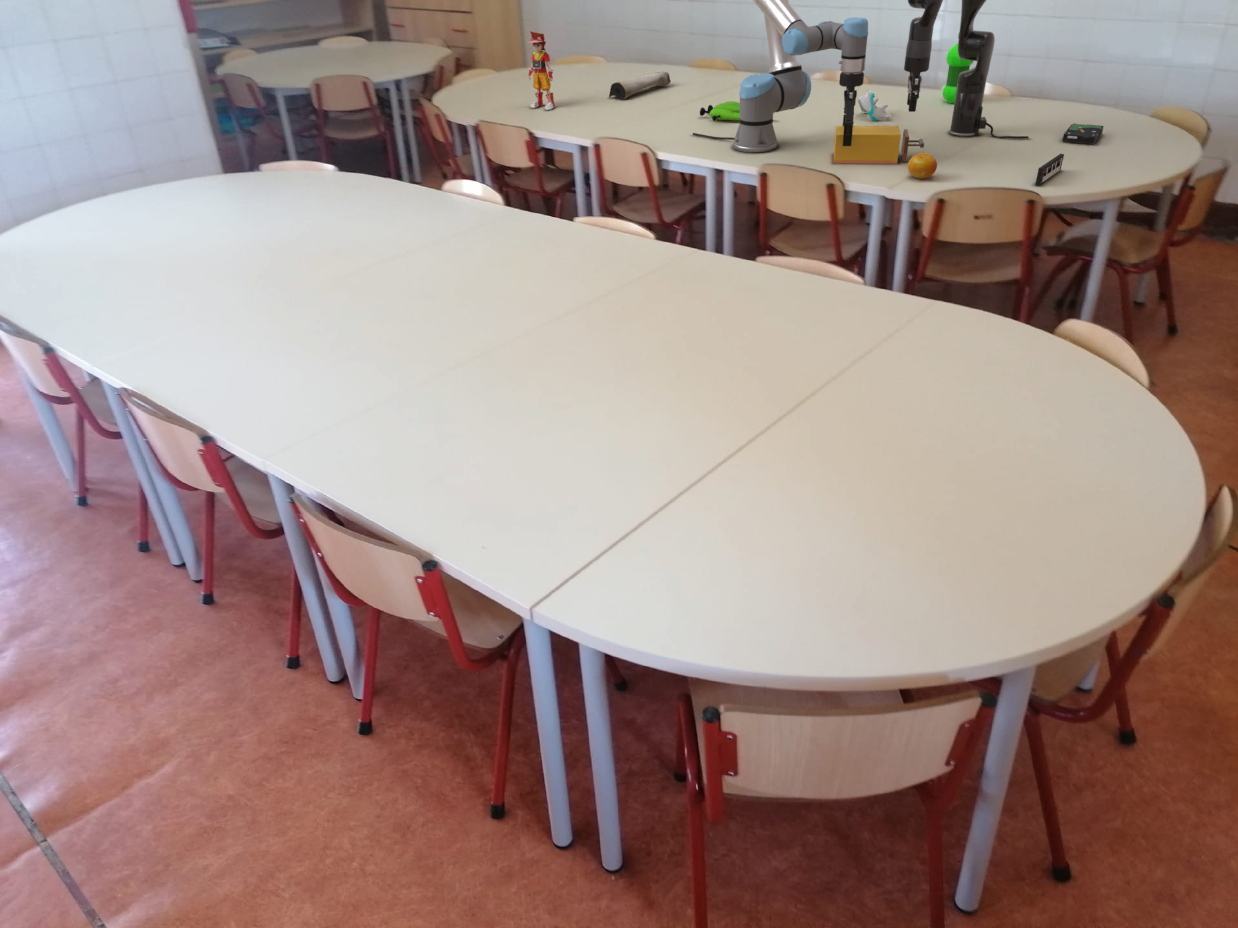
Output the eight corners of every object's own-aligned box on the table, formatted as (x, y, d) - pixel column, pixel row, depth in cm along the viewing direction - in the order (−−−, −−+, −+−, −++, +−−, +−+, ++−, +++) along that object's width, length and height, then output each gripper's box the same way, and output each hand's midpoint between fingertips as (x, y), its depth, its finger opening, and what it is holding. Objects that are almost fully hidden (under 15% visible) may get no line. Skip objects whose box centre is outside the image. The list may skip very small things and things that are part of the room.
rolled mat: (651, 76, 408) (662, 61, 399) (662, 93, 408) (674, 79, 400) (605, 92, 391) (616, 77, 383) (617, 110, 391) (628, 95, 383)
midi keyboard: (1039, 185, 269) (1043, 168, 266) (1035, 184, 270) (1038, 168, 267) (1060, 170, 279) (1064, 154, 277) (1056, 169, 280) (1060, 153, 277)
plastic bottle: (973, 101, 354) (984, 32, 339) (955, 106, 349) (966, 36, 335) (952, 97, 361) (962, 29, 346) (934, 102, 356) (944, 33, 342)
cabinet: (895, 154, 303) (898, 126, 297) (897, 163, 294) (900, 134, 289) (833, 154, 306) (835, 126, 301) (833, 163, 298) (836, 134, 293)
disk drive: (1095, 145, 299) (1102, 133, 309) (1097, 137, 298) (1104, 125, 308) (1061, 142, 304) (1069, 130, 314) (1063, 134, 302) (1071, 122, 312)
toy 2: (690, 119, 348) (760, 132, 336) (691, 105, 346) (762, 118, 333) (721, 108, 369) (789, 120, 356) (723, 95, 366) (791, 106, 353)
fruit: (901, 168, 278) (918, 145, 275) (903, 171, 286) (919, 148, 282) (924, 184, 276) (941, 161, 273) (925, 186, 284) (942, 163, 281)
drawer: (920, 152, 300) (923, 129, 296) (923, 160, 293) (926, 137, 288) (846, 151, 305) (848, 129, 300) (846, 160, 297) (848, 137, 293)
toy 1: (525, 109, 381) (517, 32, 364) (534, 104, 388) (527, 28, 371) (550, 110, 377) (543, 32, 360) (559, 105, 384) (553, 28, 367)
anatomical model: (852, 90, 344) (878, 82, 343) (855, 117, 350) (880, 110, 349) (864, 99, 332) (891, 92, 331) (867, 127, 338) (893, 120, 337)
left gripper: (839, 64, 297) (834, 130, 309) (840, 80, 277) (835, 150, 289) (863, 64, 295) (857, 130, 307) (865, 80, 275) (859, 150, 287)
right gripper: (904, 50, 289) (898, 103, 298) (907, 59, 277) (900, 113, 286) (928, 50, 287) (921, 103, 296) (932, 59, 276) (924, 113, 285)
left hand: (846, 140), depth 298 cm, fingers open, 13 cm apart
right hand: (911, 108), depth 291 cm, fingers open, 8 cm apart
